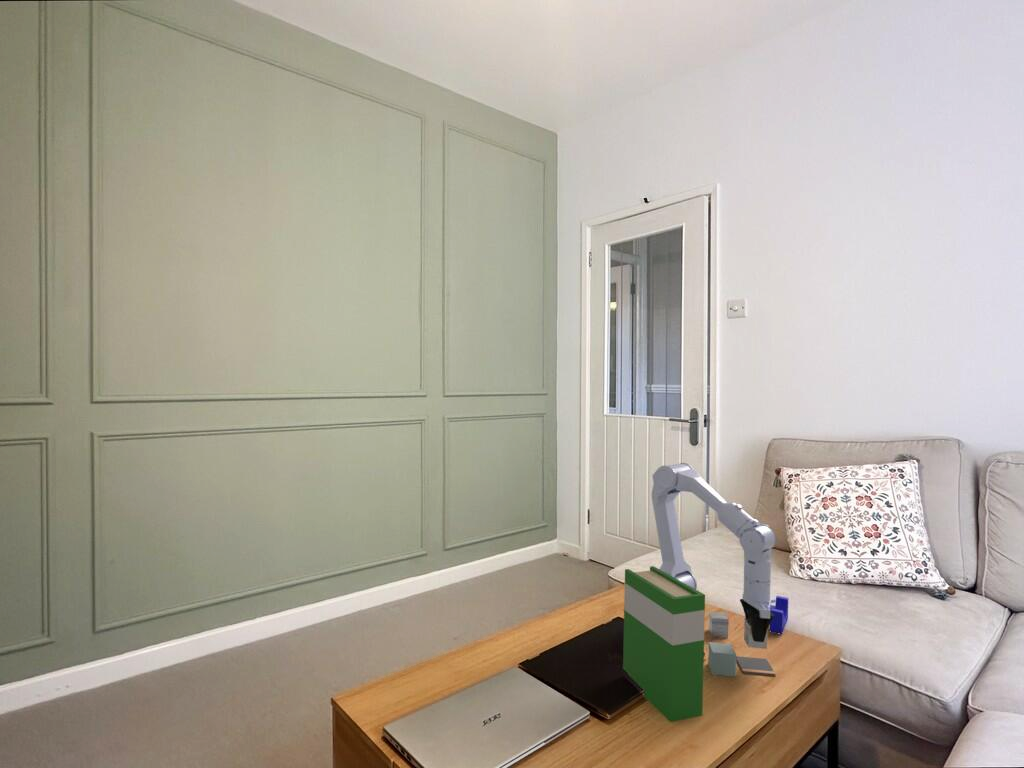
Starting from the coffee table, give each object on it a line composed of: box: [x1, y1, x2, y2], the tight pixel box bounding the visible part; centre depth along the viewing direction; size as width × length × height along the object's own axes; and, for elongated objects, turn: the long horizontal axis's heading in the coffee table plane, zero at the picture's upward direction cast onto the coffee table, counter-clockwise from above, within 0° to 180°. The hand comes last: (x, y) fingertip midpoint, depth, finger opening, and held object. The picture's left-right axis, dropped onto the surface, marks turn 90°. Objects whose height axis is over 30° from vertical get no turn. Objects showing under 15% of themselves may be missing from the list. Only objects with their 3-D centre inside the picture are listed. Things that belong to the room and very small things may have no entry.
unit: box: [707, 641, 737, 677], centre depth 130 cm, size 5×5×5 cm
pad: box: [736, 655, 776, 677], centre depth 132 cm, size 7×7×1 cm
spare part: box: [743, 617, 769, 650], centre depth 132 cm, size 4×4×5 cm
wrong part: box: [708, 611, 730, 639], centre depth 148 cm, size 4×4×5 cm
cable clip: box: [769, 595, 789, 635], centre depth 155 cm, size 12×4×6 cm, turn 147°
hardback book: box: [622, 565, 706, 723], centre depth 119 cm, size 18×7×24 cm, turn 20°
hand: (755, 636), depth 132 cm, fingers closed on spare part, 4 cm apart
